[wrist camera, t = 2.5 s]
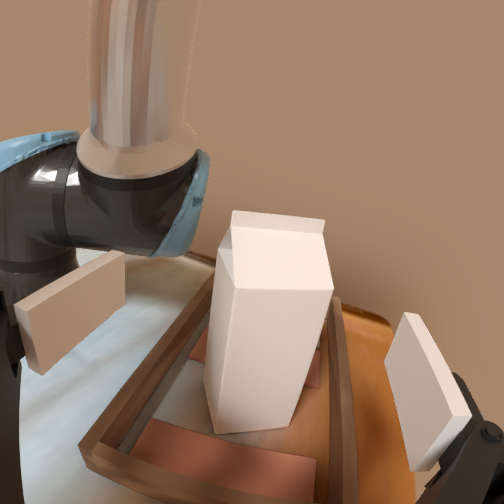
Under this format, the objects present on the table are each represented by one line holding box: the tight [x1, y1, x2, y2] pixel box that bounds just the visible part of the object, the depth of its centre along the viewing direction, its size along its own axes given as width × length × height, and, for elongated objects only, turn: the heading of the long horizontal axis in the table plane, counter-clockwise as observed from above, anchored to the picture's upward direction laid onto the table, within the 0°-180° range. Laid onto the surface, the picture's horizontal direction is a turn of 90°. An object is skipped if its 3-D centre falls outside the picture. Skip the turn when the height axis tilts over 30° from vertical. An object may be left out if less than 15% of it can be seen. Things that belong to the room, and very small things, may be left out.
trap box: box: [78, 271, 359, 504], centre depth 33 cm, size 20×36×4 cm, turn 170°
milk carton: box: [203, 210, 334, 434], centre depth 26 cm, size 7×7×19 cm
